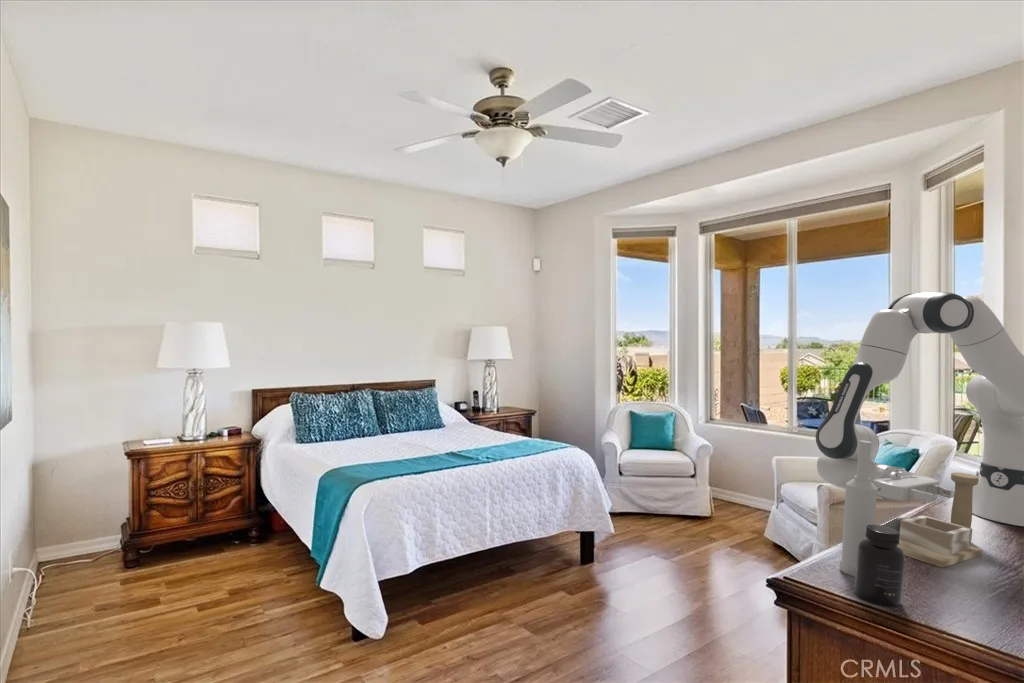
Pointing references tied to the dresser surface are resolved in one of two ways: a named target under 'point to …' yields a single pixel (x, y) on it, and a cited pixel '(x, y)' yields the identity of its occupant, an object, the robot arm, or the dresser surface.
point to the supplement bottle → (880, 567)
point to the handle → (963, 498)
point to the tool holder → (936, 541)
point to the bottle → (857, 509)
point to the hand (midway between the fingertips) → (943, 496)
